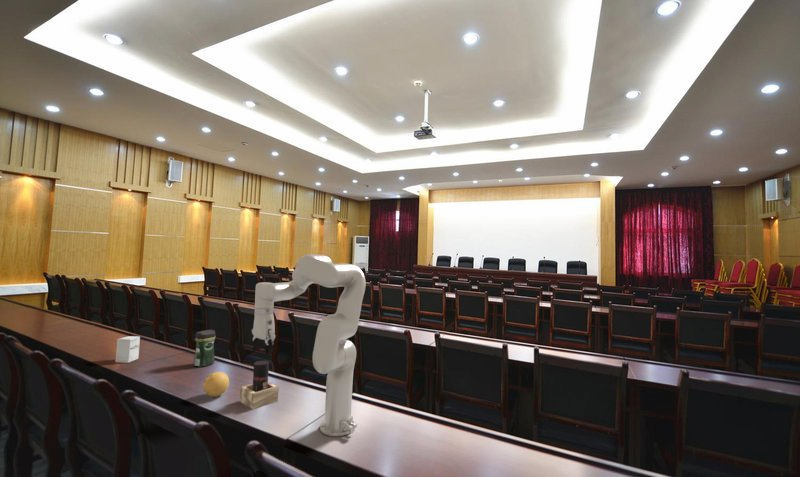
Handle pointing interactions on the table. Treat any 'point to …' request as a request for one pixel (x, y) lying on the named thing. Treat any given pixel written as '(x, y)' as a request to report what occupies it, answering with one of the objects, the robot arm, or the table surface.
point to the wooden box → (258, 396)
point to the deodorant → (260, 375)
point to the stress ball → (216, 384)
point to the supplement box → (127, 349)
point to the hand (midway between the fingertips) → (262, 352)
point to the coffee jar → (204, 348)
